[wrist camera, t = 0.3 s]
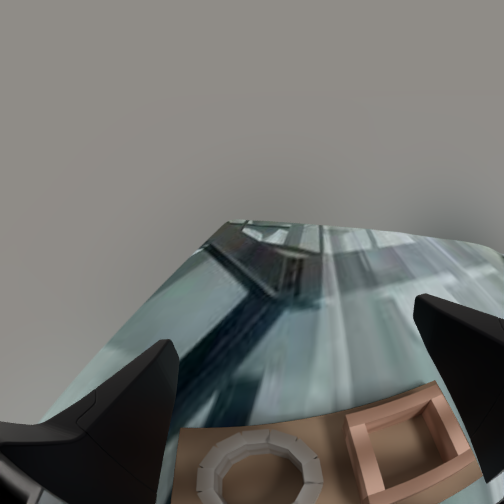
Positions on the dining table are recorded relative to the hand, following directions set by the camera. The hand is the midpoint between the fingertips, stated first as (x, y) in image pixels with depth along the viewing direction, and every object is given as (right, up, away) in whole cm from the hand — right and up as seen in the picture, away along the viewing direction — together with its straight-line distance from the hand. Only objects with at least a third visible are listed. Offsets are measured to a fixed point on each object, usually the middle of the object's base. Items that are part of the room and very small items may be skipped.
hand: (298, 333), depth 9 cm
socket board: (+4, -15, +6) cm, 16 cm away
